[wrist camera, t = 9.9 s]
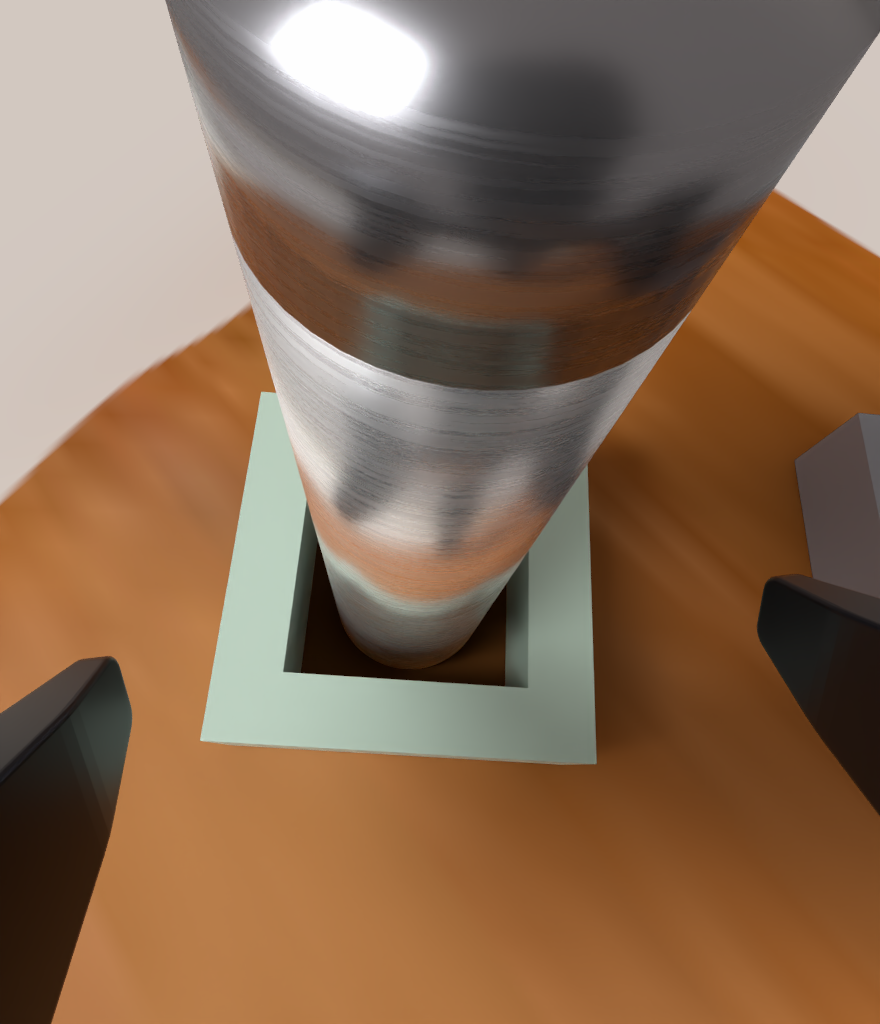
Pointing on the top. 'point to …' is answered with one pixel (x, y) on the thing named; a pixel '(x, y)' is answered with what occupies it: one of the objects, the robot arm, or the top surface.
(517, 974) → the top surface
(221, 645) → the sage socket
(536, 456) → the steel peg
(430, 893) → the top surface
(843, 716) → the robot arm
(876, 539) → the charcoal socket
